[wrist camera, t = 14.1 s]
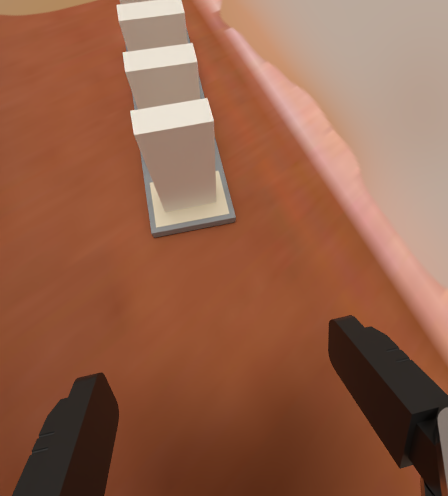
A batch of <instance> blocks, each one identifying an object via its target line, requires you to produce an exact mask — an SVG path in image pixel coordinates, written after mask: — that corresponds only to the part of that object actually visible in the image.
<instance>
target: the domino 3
mask: <svg viewBox="0 0 448 496" xmlns="http://www.w3.org/2000/svg"><path fill="white" fill-rule="evenodd" d="M130 112H131V119H132V125H133V131H134V136H135V139H136V141H137V144H138V146H139V149H140V151H141V154H142V156H143V159H144V161H145V163H146V166H147V168H148V171H149V173H150V176H151V178H152V181H153V183H154V186H155V188H156V191H157V193H158V196H159V198H160V201H161V203H162V206H163V208H164V211H165V212H170V211H175V210H180V209H185V208H190V207H195V206H200V205H205V204H210V203H215V202H216V171H215V140H214V120H213V116H212V113H211V109H210V106H209V102H208V99H207V98H204V99H198V100H192V101H186V102H180V103H174V104H168V105H162V106H156V107H150V108H144V109H138V110H132V111H130Z"/></svg>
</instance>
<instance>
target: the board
mask: <svg viewBox="0 0 448 496" xmlns="http://www.w3.org/2000/svg"><path fill="white" fill-rule="evenodd" d="M186 31H187V28H186ZM187 40H188V43H190V39H189V36H188V32H187ZM126 50H127V52H128V49H127V46H126ZM198 76H199V74H198ZM199 88H200V99H204V98H205V97H204V93H203V90H202V86H201V82H200V78H199ZM132 94H133V93H132ZM133 102H134V109H135V110H138V108H137V105H136V102H135V99H134V96H133ZM214 140H215V136H214ZM140 153H141V151H140ZM141 160H142V167H143V174H144V182H145V189H146V196H147V204H148V211H149V218H150V226H151V233H152V235H153V237H154V238H155V237H161V236H166V235H171V234H176V233H181V232H186V231H192V230H197V229H202V228H207V227H212V226H217V225H223V224H228V223H233V222H235V219H236V217H235V213H234V209H233V205H232V201H231V197H230V193H229V190H228V186H227V182H226V178H225V174H224V170H223V167H222V163H221V159H220V155H219V151H218V147H217V143H216V140H215V171H216V202H215V203H210V204H205V205H200V206H195V207H190V208H185V209H180V210H175V211H170V212H165V211H164V208H163V206H162V203H161V201H160V198H159V196H158V193H157V191H156V188H155V186H154V183H153V181H152V178H151V176H150V173H149V171H148V168H147V166H146V163H145V161H144V159H143V156H142V154H141Z"/></svg>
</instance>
